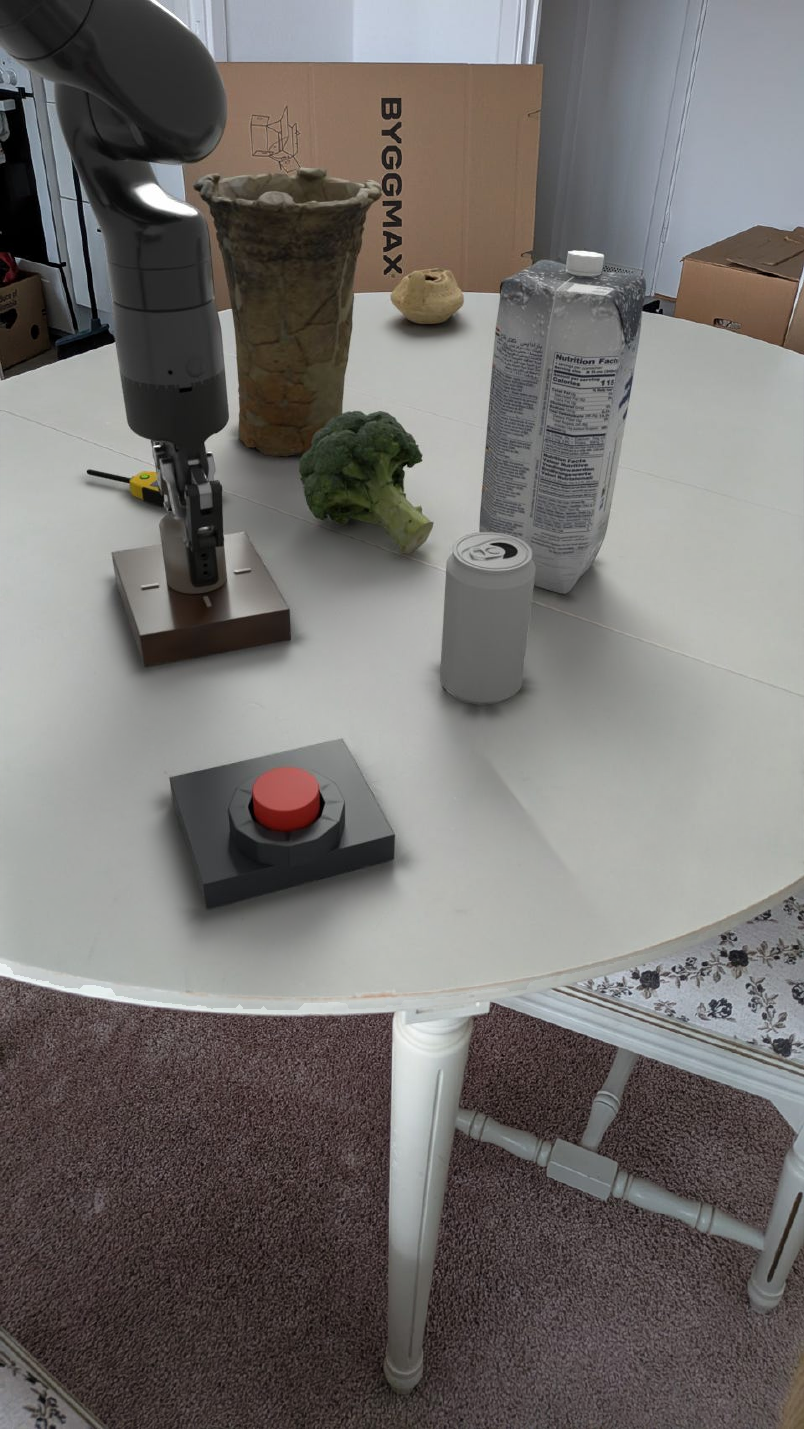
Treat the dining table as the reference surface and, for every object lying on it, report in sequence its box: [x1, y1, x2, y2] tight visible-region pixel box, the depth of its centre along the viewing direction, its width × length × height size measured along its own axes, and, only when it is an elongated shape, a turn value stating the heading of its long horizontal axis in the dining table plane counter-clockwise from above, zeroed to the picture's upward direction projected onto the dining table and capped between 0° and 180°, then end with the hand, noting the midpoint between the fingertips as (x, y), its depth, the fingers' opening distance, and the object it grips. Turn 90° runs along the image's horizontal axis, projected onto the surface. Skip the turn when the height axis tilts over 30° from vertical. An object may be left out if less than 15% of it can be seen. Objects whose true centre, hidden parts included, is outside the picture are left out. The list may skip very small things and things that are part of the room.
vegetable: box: [298, 410, 435, 556], centre depth 95 cm, size 12×13×15 cm
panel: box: [111, 531, 292, 668], centre depth 84 cm, size 12×14×3 cm
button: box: [252, 767, 320, 832], centre depth 60 cm, size 4×4×2 cm
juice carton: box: [478, 250, 647, 595], centre depth 84 cm, size 9×10×27 cm
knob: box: [158, 511, 227, 594], centre depth 82 cm, size 5×5×6 cm
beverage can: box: [439, 531, 536, 706], centre depth 74 cm, size 6×6×12 cm
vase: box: [193, 166, 383, 458], centre depth 107 cm, size 18×18×27 cm
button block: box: [168, 738, 396, 910], centre depth 63 cm, size 12×10×4 cm
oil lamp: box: [390, 267, 465, 325], centre depth 150 cm, size 11×15×8 cm
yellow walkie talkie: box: [86, 468, 165, 508], centre depth 102 cm, size 5×2×15 cm
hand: (196, 566), depth 83 cm, fingers closed on knob, 5 cm apart
